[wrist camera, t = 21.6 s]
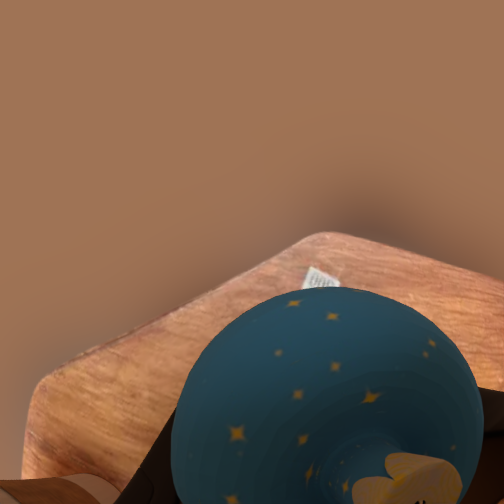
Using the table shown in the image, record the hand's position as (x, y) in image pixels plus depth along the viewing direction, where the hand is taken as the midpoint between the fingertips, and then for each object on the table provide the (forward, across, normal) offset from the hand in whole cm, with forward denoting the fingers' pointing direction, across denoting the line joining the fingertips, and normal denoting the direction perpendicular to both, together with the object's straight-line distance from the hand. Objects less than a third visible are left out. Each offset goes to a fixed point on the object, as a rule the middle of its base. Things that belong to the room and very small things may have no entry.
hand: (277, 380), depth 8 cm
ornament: (+4, 0, +6) cm, 7 cm away
